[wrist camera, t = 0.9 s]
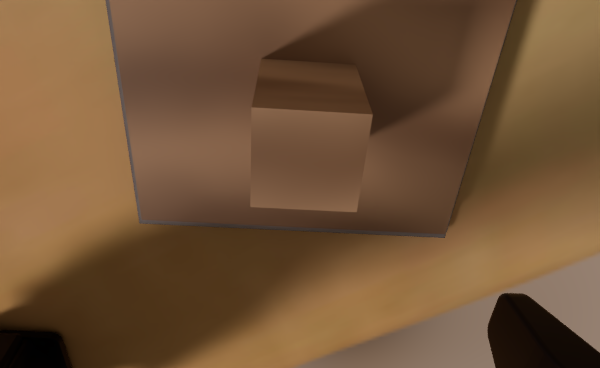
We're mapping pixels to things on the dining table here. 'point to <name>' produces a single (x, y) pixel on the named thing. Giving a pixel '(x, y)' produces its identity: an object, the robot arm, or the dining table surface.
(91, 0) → the dining table surface
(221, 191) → the lid
